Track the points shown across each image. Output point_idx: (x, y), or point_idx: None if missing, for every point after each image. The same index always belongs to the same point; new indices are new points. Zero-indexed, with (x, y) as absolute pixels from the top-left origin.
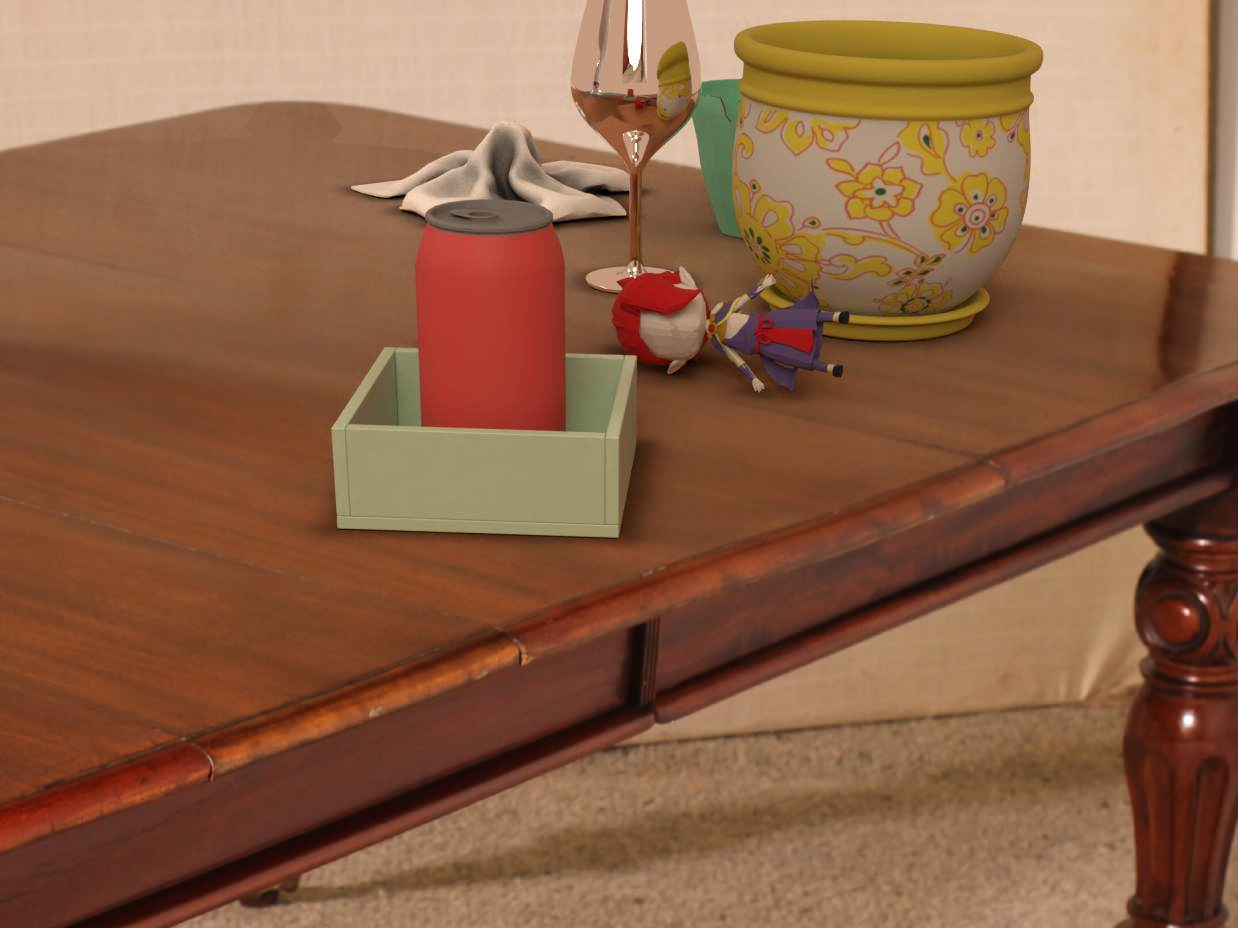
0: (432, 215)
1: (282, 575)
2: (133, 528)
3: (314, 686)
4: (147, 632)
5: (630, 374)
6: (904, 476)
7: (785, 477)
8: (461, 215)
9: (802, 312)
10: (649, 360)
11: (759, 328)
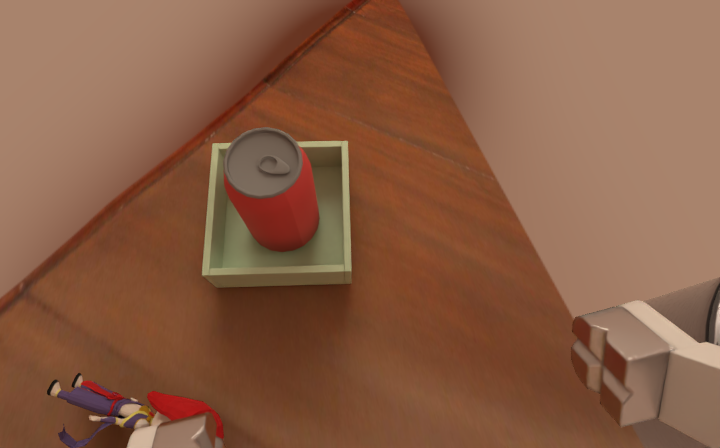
0: (296, 148)
1: (357, 119)
2: (433, 156)
3: (323, 42)
4: (390, 72)
5: (205, 238)
6: (75, 259)
7: (139, 250)
8: (280, 159)
9: (81, 395)
10: None
11: (117, 397)
